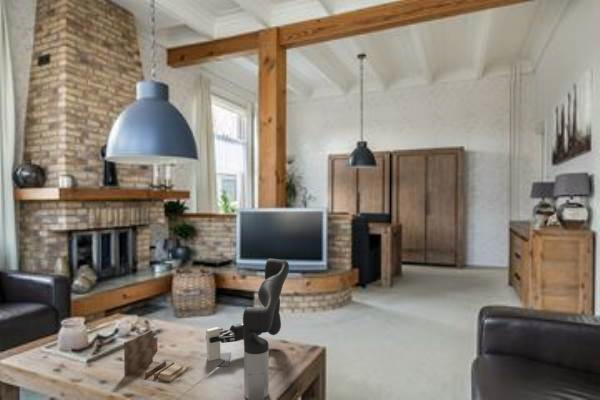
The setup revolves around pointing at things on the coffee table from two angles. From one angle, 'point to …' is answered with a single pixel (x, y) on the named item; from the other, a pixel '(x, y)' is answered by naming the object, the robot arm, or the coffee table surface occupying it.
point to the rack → (149, 362)
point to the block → (213, 344)
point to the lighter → (155, 342)
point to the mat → (223, 356)
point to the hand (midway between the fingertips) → (208, 339)
